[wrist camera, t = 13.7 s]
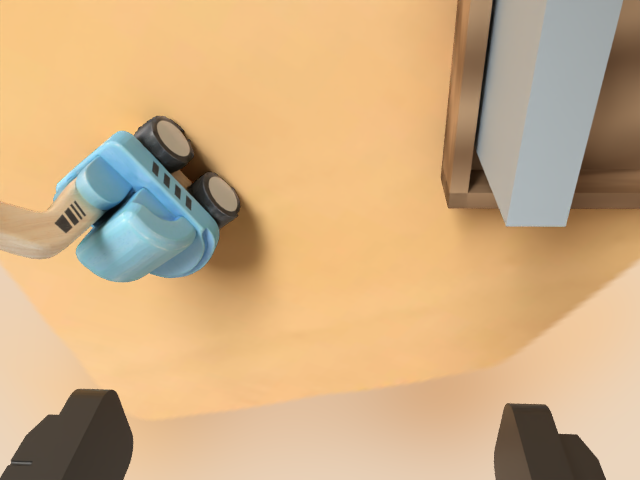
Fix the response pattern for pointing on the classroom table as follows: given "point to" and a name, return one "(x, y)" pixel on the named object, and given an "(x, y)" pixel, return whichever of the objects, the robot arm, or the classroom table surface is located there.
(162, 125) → the toy excavator
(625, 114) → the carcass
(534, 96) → the blue-gray square slab
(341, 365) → the classroom table surface
